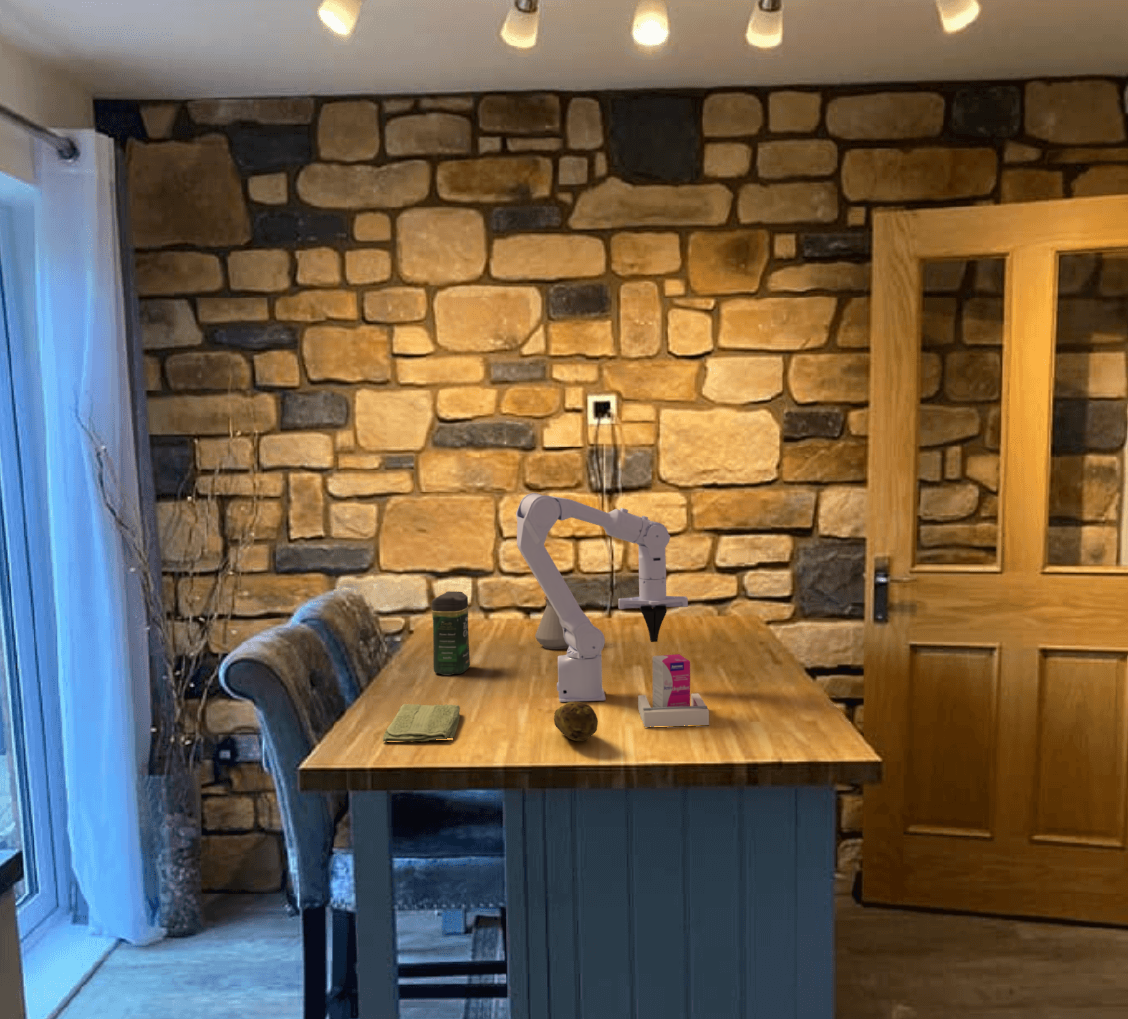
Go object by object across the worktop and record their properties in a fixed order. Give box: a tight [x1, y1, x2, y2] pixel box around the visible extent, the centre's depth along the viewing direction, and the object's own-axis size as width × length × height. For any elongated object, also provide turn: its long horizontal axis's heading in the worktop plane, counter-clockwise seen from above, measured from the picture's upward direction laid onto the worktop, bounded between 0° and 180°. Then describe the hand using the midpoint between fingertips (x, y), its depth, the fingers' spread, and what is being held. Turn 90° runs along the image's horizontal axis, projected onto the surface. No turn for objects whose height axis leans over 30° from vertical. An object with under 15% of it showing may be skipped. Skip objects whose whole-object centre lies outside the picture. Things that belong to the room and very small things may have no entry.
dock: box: [637, 692, 710, 727], centre depth 179 cm, size 12×11×3 cm
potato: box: [553, 701, 599, 742], centre depth 167 cm, size 8×13×8 cm, turn 176°
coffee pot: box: [534, 595, 569, 650], centre depth 246 cm, size 21×12×15 cm, turn 3°
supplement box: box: [652, 653, 691, 707], centre depth 180 cm, size 6×6×12 cm
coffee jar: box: [431, 591, 471, 676], centre depth 219 cm, size 10×8×19 cm
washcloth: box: [382, 703, 461, 742], centre depth 177 cm, size 13×18×3 cm
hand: (653, 640), depth 199 cm, fingers closed
